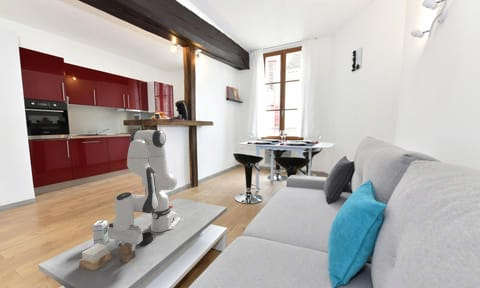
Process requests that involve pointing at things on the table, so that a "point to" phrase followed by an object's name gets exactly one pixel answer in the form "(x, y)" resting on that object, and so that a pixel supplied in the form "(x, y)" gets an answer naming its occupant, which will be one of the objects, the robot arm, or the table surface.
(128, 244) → the walnut block
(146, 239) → the smart speaker
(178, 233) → the table surface
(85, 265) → the oak base block
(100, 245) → the off-white top block
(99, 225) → the syrup box
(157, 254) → the table surface
